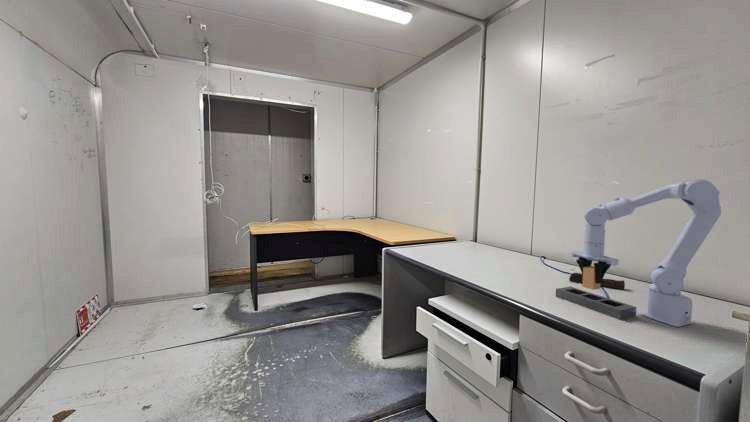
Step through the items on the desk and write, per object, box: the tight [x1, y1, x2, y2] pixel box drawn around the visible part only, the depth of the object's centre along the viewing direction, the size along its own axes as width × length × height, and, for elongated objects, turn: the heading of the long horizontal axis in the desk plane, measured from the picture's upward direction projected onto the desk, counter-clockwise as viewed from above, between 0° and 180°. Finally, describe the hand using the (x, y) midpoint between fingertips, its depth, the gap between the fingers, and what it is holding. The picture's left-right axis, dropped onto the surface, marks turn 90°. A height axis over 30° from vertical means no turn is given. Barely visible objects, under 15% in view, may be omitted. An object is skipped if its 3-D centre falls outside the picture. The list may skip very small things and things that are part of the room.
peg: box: [581, 265, 601, 290], centre depth 104 cm, size 4×4×7 cm
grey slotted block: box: [555, 286, 637, 320], centre depth 105 cm, size 22×8×3 cm, turn 21°
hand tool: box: [568, 272, 626, 291], centre depth 128 cm, size 19×4×5 cm, turn 53°
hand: (592, 281), depth 104 cm, fingers closed on peg, 4 cm apart
